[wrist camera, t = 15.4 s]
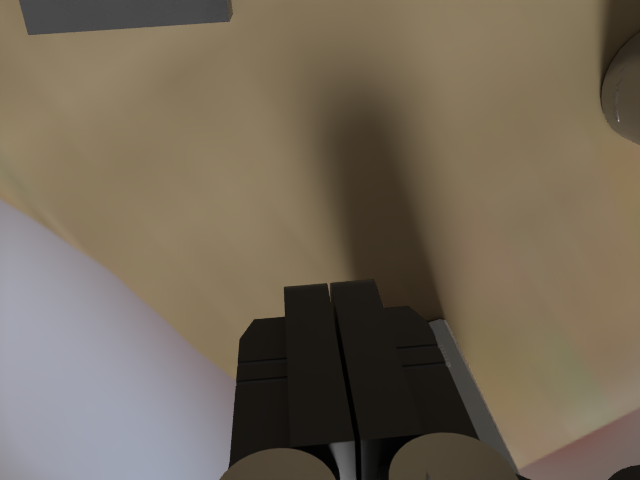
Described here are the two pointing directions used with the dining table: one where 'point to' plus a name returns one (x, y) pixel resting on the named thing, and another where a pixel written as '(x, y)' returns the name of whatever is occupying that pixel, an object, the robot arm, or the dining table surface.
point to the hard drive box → (470, 391)
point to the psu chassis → (119, 14)
